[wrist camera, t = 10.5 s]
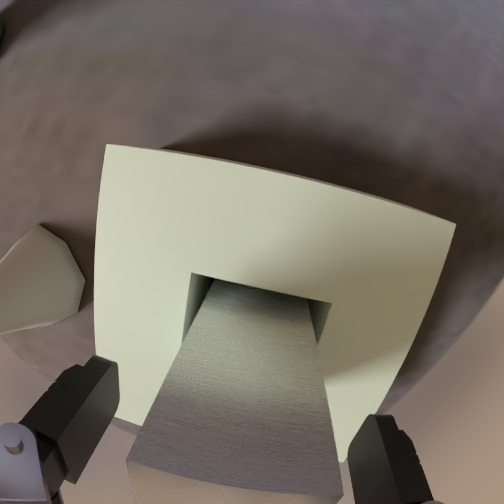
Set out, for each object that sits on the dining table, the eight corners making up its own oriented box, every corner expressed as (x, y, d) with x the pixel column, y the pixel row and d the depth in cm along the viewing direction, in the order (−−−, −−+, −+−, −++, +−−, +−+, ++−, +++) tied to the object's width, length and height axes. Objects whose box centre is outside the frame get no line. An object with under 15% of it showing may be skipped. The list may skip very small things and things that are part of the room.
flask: (103, 280, 19) (3, 360, 9) (61, 336, 21) (-16, 411, 11) (38, 204, 18) (-75, 240, 8) (6, 270, 20) (-82, 320, 10)
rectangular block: (229, 251, 18) (125, 459, 4) (299, 265, 18) (343, 495, 4) (218, 313, 19) (141, 529, 5) (283, 326, 19) (286, 554, 5)
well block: (159, 148, 16) (106, 143, 11) (402, 203, 16) (456, 224, 11) (137, 356, 20) (102, 411, 15) (331, 398, 20) (343, 462, 14)
